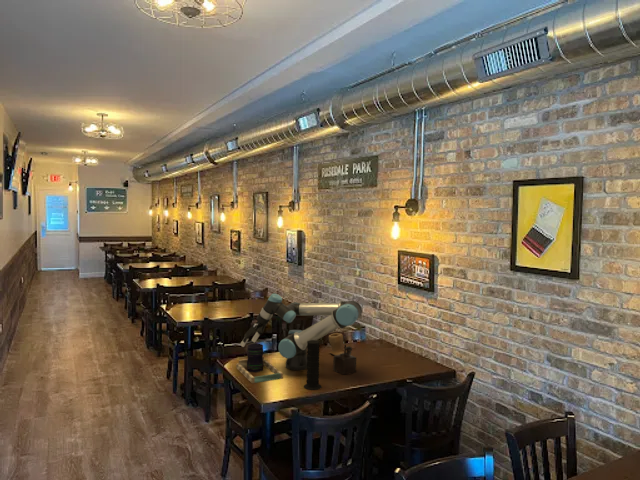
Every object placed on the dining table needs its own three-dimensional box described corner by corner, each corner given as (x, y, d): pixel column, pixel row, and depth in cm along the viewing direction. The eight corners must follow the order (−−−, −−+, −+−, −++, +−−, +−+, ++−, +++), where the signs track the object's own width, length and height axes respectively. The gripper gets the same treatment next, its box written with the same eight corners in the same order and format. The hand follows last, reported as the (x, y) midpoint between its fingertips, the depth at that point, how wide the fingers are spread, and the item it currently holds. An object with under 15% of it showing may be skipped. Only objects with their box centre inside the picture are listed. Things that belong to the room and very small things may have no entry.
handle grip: (320, 383, 269) (303, 383, 268) (321, 337, 268) (303, 337, 267) (322, 390, 259) (304, 390, 258) (323, 342, 258) (304, 342, 257)
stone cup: (325, 353, 327) (325, 332, 326) (339, 351, 333) (340, 330, 332) (336, 359, 314) (337, 337, 313) (351, 357, 320) (352, 335, 319)
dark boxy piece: (331, 370, 292) (332, 341, 291) (345, 367, 298) (346, 339, 297) (347, 377, 279) (348, 347, 278) (362, 374, 286) (362, 345, 285)
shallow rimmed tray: (236, 368, 293) (236, 360, 293) (265, 364, 302) (265, 356, 302) (252, 383, 268) (252, 374, 267) (283, 378, 276) (283, 370, 276)
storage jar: (260, 366, 297) (261, 343, 297) (264, 371, 288) (265, 347, 288) (245, 368, 294) (245, 344, 293) (248, 373, 285) (248, 348, 284)
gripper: (269, 309, 301) (253, 336, 306) (249, 315, 278) (232, 343, 283) (278, 317, 299) (261, 343, 303) (259, 323, 276) (241, 351, 280)
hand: (247, 343), depth 293 cm, fingers open, 13 cm apart
